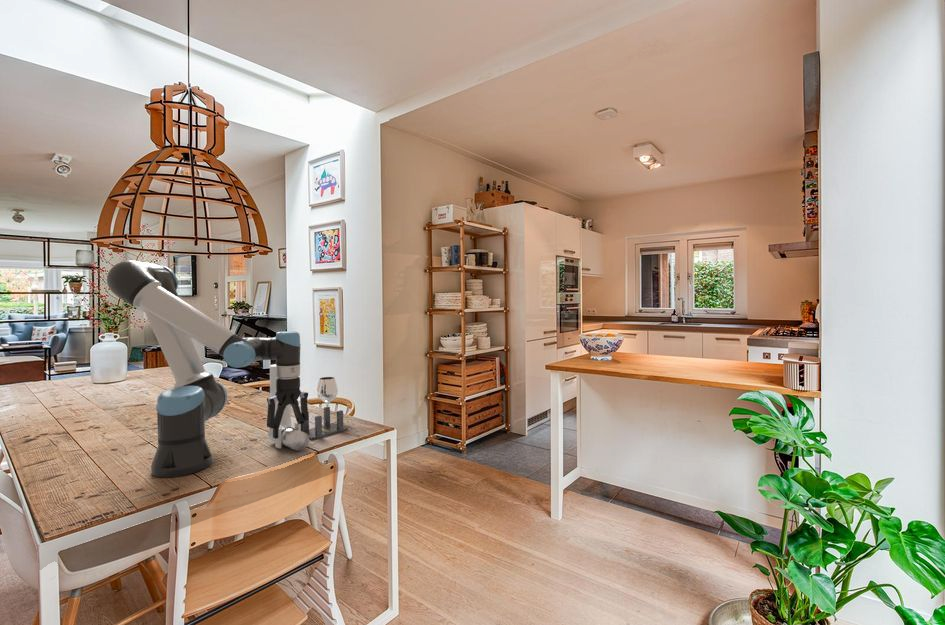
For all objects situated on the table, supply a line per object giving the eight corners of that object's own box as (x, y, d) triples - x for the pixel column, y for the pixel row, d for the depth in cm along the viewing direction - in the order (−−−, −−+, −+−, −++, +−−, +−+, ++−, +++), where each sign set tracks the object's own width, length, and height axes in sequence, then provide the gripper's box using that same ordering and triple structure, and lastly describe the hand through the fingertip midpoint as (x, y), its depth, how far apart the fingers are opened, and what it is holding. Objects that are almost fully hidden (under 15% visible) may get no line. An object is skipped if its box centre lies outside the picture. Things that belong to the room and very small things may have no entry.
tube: (309, 448, 144) (309, 430, 144) (291, 453, 139) (292, 434, 139) (284, 438, 154) (285, 421, 154) (267, 442, 149) (268, 424, 149)
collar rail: (312, 440, 153) (311, 418, 153) (297, 434, 160) (296, 413, 159) (347, 430, 165) (347, 409, 165) (332, 425, 171) (332, 405, 171)
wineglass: (321, 426, 170) (320, 380, 170) (314, 421, 177) (313, 378, 176) (341, 422, 176) (340, 378, 175) (333, 418, 182) (332, 375, 181)
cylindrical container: (277, 433, 161) (275, 367, 160) (267, 430, 165) (266, 365, 165) (294, 429, 167) (293, 364, 166) (284, 425, 171) (283, 363, 170)
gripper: (265, 382, 136) (265, 455, 137) (319, 374, 151) (319, 440, 152) (254, 379, 141) (254, 449, 142) (308, 372, 156) (308, 435, 156)
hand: (288, 444), depth 147 cm, fingers closed on tube, 6 cm apart
